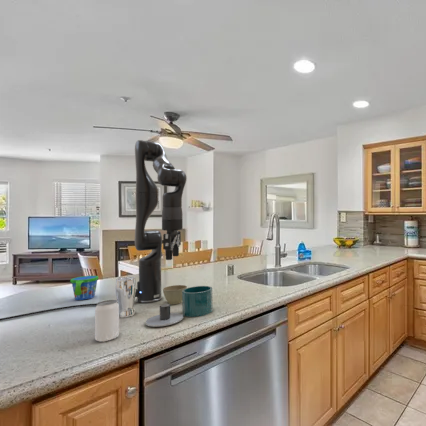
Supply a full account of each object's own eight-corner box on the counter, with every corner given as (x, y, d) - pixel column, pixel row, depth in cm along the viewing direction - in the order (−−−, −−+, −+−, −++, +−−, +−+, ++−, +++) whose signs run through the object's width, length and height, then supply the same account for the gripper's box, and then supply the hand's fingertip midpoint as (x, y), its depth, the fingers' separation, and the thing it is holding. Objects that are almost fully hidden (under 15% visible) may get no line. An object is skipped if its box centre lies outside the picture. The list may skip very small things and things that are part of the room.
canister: (182, 318, 115) (182, 294, 115) (182, 309, 126) (182, 287, 126) (213, 314, 120) (213, 291, 120) (211, 305, 131) (210, 284, 131)
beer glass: (140, 313, 122) (139, 277, 122) (124, 319, 115) (123, 281, 115) (128, 311, 124) (127, 276, 124) (111, 317, 118) (111, 279, 118)
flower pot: (177, 307, 130) (177, 290, 129) (157, 305, 132) (157, 289, 131) (191, 300, 139) (191, 285, 139) (173, 299, 141) (173, 284, 141)
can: (103, 334, 101) (103, 299, 101) (123, 333, 101) (123, 299, 101) (90, 342, 95) (90, 305, 94) (111, 341, 95) (111, 305, 95)
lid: (143, 330, 104) (143, 313, 104) (147, 318, 115) (147, 303, 115) (183, 324, 109) (183, 308, 109) (183, 313, 121) (183, 298, 121)
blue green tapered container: (81, 294, 150) (81, 274, 150) (105, 293, 152) (104, 273, 152) (62, 304, 135) (62, 282, 135) (88, 302, 137) (88, 280, 137)
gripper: (168, 217, 126) (168, 255, 126) (155, 219, 112) (155, 261, 112) (186, 217, 127) (187, 255, 127) (176, 218, 113) (176, 260, 113)
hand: (172, 257), depth 120 cm, fingers open, 8 cm apart
